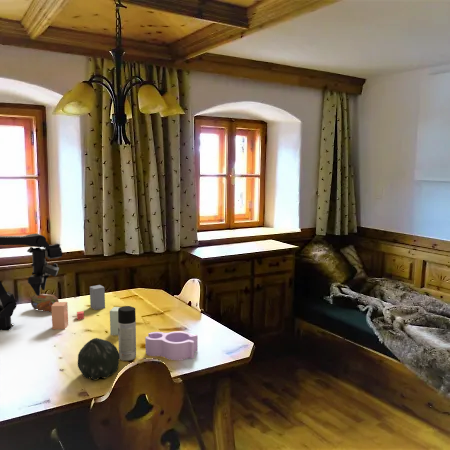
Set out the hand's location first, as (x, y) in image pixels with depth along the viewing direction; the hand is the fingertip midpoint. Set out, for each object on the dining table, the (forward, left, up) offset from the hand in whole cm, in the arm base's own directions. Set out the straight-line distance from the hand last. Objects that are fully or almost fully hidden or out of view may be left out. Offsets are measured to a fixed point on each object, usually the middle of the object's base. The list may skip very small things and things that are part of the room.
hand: (40, 292), depth 222 cm
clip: (-45, -61, -13) cm, 77 cm away
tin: (+13, +2, -13) cm, 18 cm away
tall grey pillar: (+14, -24, -13) cm, 31 cm away
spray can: (-48, -44, -13) cm, 66 cm away
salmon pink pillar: (-12, -11, -13) cm, 21 cm away
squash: (-61, -35, -13) cm, 72 cm away
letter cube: (-1, -18, -13) cm, 22 cm away
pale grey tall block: (-22, -38, -13) cm, 46 cm away
